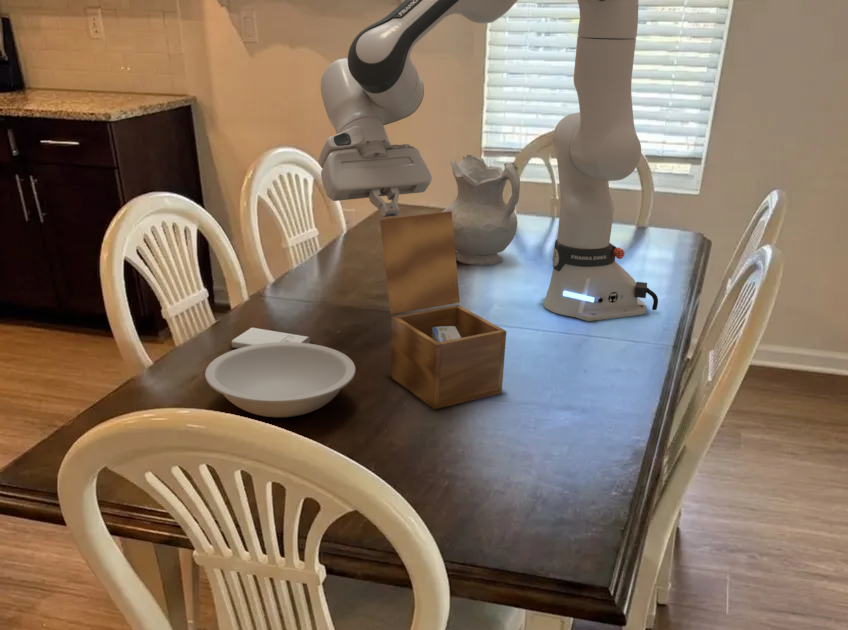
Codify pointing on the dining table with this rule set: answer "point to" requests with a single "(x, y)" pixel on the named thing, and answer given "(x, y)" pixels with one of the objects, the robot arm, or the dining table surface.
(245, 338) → the hard drive
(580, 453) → the dining table surface
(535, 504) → the dining table surface
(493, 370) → the chest
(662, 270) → the dining table surface
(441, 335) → the medicine box
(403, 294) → the lid
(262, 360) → the soup bowl
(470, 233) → the ceramic pitcher
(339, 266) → the dining table surface
